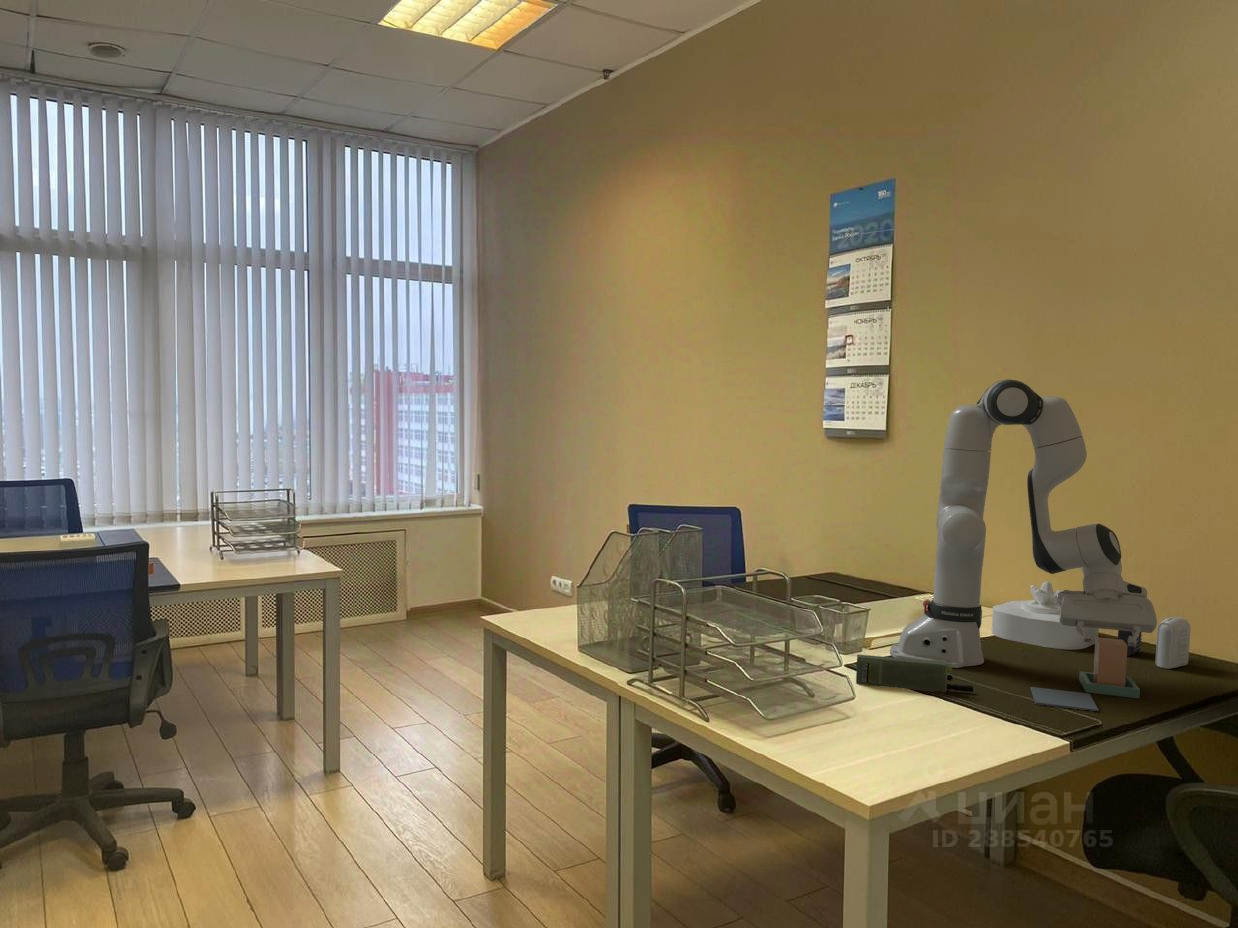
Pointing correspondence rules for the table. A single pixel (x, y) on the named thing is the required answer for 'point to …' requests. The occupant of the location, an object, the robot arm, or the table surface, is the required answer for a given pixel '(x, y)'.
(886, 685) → the handheld radio
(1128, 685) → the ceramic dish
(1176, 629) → the photo printer
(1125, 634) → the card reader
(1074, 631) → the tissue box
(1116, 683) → the brown tall block
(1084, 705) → the rubber mat
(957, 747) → the table surface
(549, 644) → the table surface
